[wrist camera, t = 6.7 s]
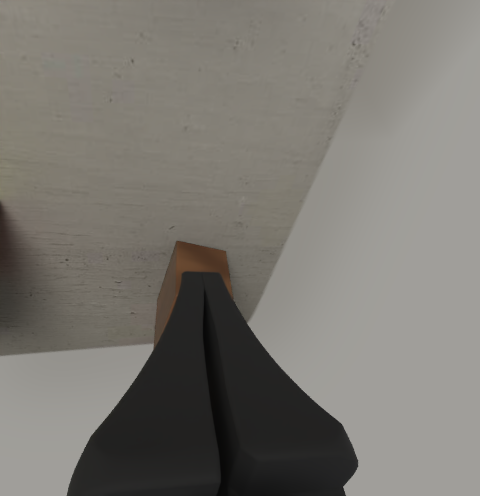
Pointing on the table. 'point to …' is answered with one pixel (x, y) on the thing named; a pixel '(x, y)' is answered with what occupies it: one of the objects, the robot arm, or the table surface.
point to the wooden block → (181, 261)
